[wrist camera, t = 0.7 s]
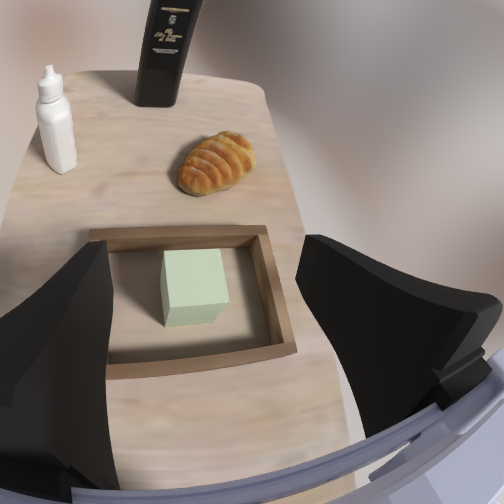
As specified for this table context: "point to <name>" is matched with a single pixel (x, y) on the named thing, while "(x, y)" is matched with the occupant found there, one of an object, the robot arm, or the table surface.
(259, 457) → the table surface
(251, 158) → the pastry
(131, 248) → the box
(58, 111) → the eye dropper bottle
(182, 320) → the wood block
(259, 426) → the table surface
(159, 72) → the wine bottle
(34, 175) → the table surface
